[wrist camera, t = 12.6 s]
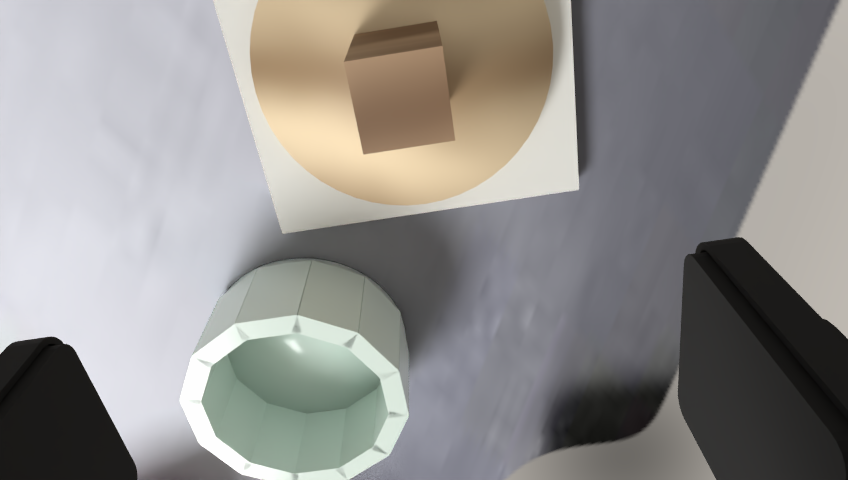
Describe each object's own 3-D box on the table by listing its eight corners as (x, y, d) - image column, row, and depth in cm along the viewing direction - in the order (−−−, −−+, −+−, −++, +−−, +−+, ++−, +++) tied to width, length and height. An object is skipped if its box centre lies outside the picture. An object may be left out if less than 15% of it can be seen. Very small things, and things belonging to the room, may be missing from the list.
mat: (191, -98, 26) (184, -98, 25) (558, -164, 25) (563, -166, 24) (285, 225, 33) (282, 234, 32) (574, 181, 32) (578, 189, 31)
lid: (216, -73, 26) (166, -64, 20) (538, -129, 25) (573, -135, 20) (295, 214, 32) (273, 278, 27) (556, 175, 31) (586, 233, 26)
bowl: (186, 273, 34) (150, 335, 30) (387, 244, 34) (383, 302, 29) (245, 422, 40) (222, 496, 35) (419, 399, 39) (421, 471, 34)
